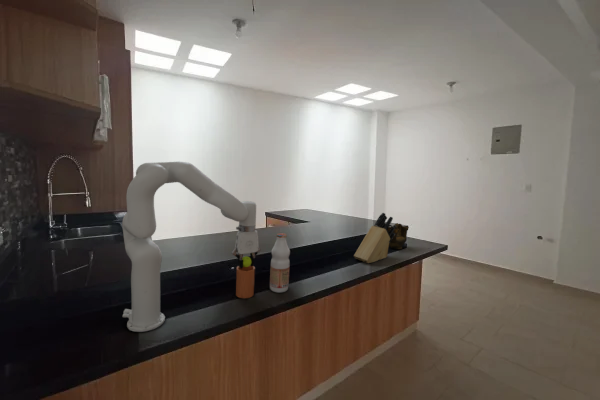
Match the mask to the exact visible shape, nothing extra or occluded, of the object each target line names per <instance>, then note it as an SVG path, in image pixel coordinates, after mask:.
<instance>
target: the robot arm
mask: <svg viewBox="0 0 600 400" xmlns="http://www.w3.org/2000/svg"><path fill="white" fill-rule="evenodd" d="M173 183H178V184H181V185H182V186H183V187H184V188H186V189H187V190H189V192H192V193H193V194H195V196H196V197H198V198H199V199H201V201H204V202H205V203H207V204H209V205H212V206H214V207H216V208H217V209H219V210H220V213H221V215H222V216H223V217H224V218H227V219H230V220H232V221H234V222H238V226H236V227H235V230H236V232H237V233H236V237H235V243H234V248H233V250H232V251H231V254H232V256H234V257H236V258H237V267H238V266H239V267H240V268H243V260H242V258H243V257H244V255H248V254H249V257H250V258H251V260H252V263H251V266H254V264H255V258H256V256H257V255H258V253H259V252H261V251H262V249H261V247H260V246H259V243H260V242H259V234H258V230H256V227H257V226H256V225H257V203H256V202H255V201H249V200H246V201H245V200H244V201H240V200H239V199H238V198H237V197H235V196H234V195H233V194H231V193H230V192H228V191H227V190H226V189H224V188H223V187H222V186H220V185H219V184H217V183H215V182H214V181H213V180H212V179H211V178H210V177H208V176H207V175H206V174H205V173H204V172H202V171H201V170H200V169H199V168H198V167H196V166H195V165H194V164H192V163H190V162H187V161H165V162H164V161H163V162H162V161H161V162H144V163H141V164H140V165H139V166H137V168H136V171H135V176H134V177H133V178H132V179H131V181H130V182H129V185H128V187H127V190H126V196H125V197H126V199H125V200H126V213H125V215H124V216H123V218H122V222H121V223H122V232H123V233H122V234H123V243H124V249H125V253H126V255H127V257H128V258H129V260H130V261H131V270H130V271H131V273H130V288H131V289H130V291H131V292H130V293H131V309H129V308H124V310H123V314H122V318H125V319H126V318H128V320H127V323H126V327H127V329H128V330H129V331H132V332H134V333H135V332H136V333H142V332H143V333H144V332H148V331H153V330H155V329H158V328H159V327H160V326H162V325H163V324H164V323H165V320H166V316H165V314H164V313H162V312H161V267H162V259H163V255H162V250H161V248H160V246H159V245H158V244H157V243H155V242H154V241H153V237H152V236H154V234H155V233H156V230H157V220H156V211H155V194H156V193H157V191H158V190H159V189H160V188H161V187H163V186H164V185H165V184H173Z"/></svg>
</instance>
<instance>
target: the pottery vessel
mask: <svg viewBox="0 0 600 400" xmlns="http://www.w3.org/2000/svg"><path fill="white" fill-rule="evenodd" d="M394 225H395V226H396V227H395V229H394V231H393V233H395V236H394V237H393V239H392V240H391V242H390V243H389V247H390V248H391V249H394V250H402V249H403V245H405V244H406V242H407V240H408V239H407V238H408V237H407V236H408V230H409V226H404V225H402V223H399V222H397V223H395V224H394ZM394 225H392V227H393V226H394ZM390 229H391V226H389V228H388V230H387V231H390Z"/></svg>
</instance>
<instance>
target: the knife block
mask: <svg viewBox="0 0 600 400" xmlns="http://www.w3.org/2000/svg"><path fill="white" fill-rule="evenodd" d="M392 221H393V217H392V216H389V218H388V217H387V215H386V213H385V212H381V214H380V215H379V216H378V217H377V219H376V221H375V223H374V225H371V226H370V228H369V229H368V231H367V233H366V234H365V236H364V237H363V240H362V241H361V243H360V245H359V246H358V248H357V249H356V251H355V253H354V254H353V257H354V259H355V260H357V261H361V262H363V263H367V264H372V263H374V262H377V261H381V260H382V259H386V258H388V254H389V247H390V246H389V243H390V242H391V240H392V239H393V237H394V236H395V233H393V231H394V229H395V227H396V226H395V224H394V225H391V223H392ZM392 226H393V227H392ZM389 227H391V229H390V231H387V230H388V228H389Z"/></svg>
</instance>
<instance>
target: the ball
mask: <svg viewBox="0 0 600 400" xmlns="http://www.w3.org/2000/svg"><path fill="white" fill-rule="evenodd" d="M242 260H243V267H249V266H250V265H251V263H252V260H251V258H250V256H248V255H245V256H243V258H242Z"/></svg>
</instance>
